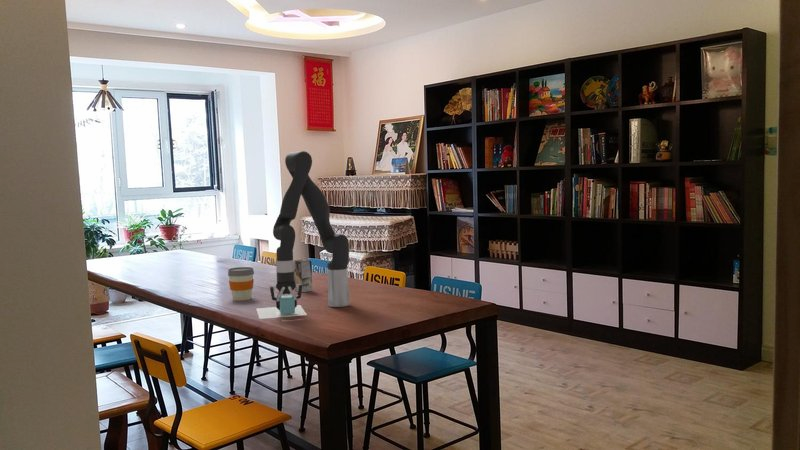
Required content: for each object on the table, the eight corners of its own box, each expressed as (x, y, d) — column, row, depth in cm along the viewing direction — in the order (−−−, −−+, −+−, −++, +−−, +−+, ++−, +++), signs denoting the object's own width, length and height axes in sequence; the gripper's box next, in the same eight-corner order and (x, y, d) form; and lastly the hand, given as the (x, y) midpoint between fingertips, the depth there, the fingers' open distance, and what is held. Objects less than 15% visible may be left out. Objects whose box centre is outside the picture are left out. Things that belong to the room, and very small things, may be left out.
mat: (300, 306, 283) (300, 304, 283) (307, 316, 262) (307, 314, 262) (256, 309, 277) (256, 308, 277) (259, 320, 256) (259, 318, 256)
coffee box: (313, 290, 322) (312, 260, 320) (302, 292, 318) (301, 261, 316) (304, 288, 329) (303, 259, 328) (294, 290, 325) (293, 260, 324)
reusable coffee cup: (248, 301, 297) (246, 270, 296) (224, 300, 300) (223, 270, 299) (259, 296, 309) (258, 267, 308) (236, 296, 312) (235, 266, 311)
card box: (295, 312, 261) (294, 298, 261) (280, 313, 259) (280, 299, 259) (292, 308, 270) (292, 295, 269) (278, 309, 268) (278, 296, 267)
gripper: (269, 272, 257) (270, 312, 259) (303, 270, 262) (304, 309, 263) (267, 270, 265) (269, 308, 266) (300, 268, 269) (302, 306, 270)
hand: (286, 308), depth 264 cm, fingers closed on card box, 6 cm apart
